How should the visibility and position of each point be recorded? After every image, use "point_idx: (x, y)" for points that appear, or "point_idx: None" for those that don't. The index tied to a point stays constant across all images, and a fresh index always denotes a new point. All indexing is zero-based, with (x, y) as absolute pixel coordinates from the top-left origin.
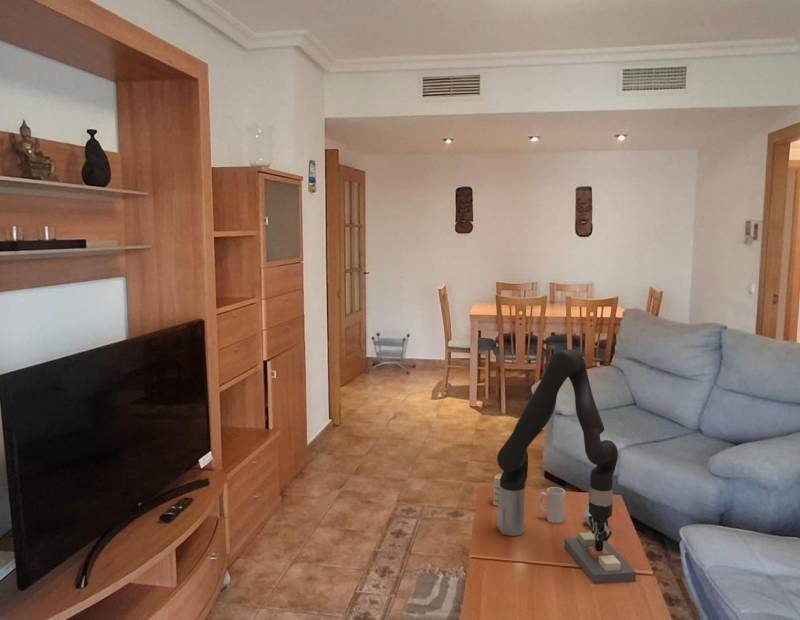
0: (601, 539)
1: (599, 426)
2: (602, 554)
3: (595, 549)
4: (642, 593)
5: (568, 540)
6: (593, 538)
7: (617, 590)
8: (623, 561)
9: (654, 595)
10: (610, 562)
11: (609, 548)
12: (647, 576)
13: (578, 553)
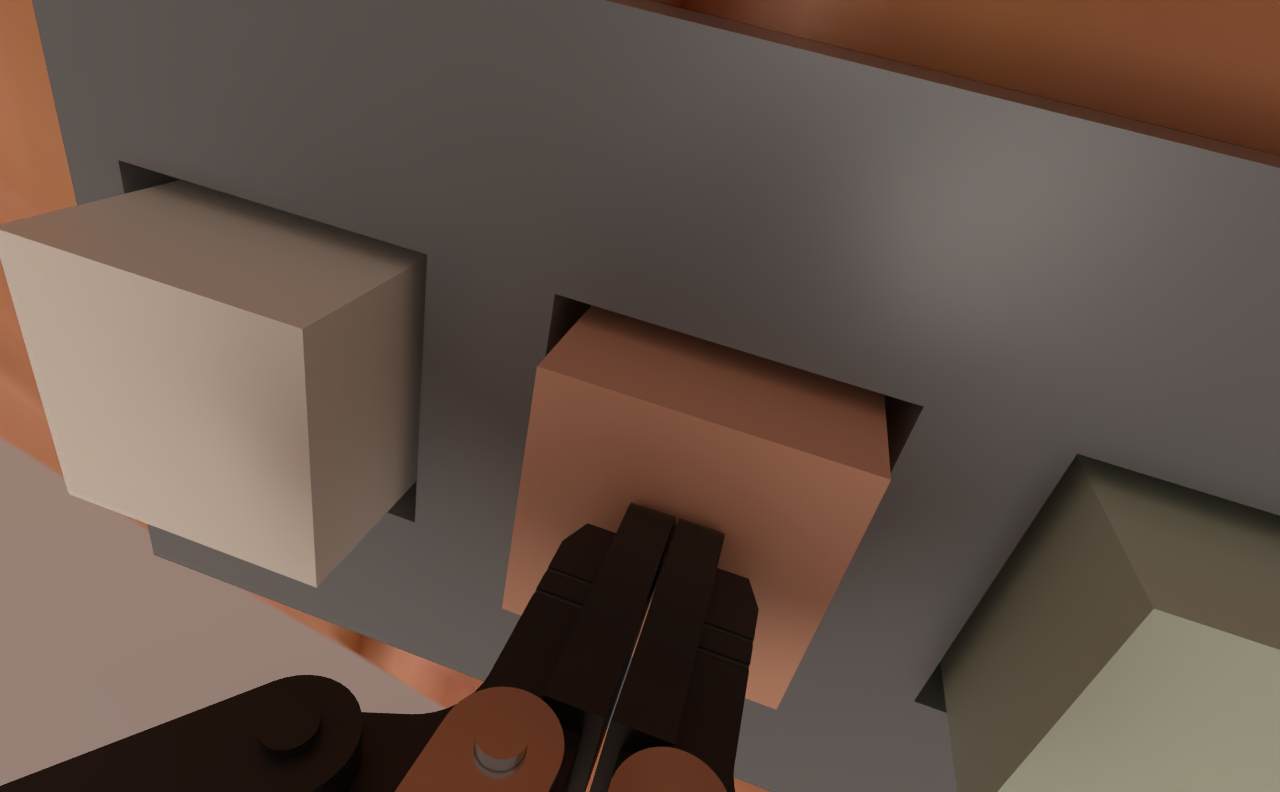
0: (98, 753)
1: None
2: (523, 500)
3: (706, 518)
4: (29, 369)
5: None
6: (1051, 789)
7: (45, 146)
8: (399, 624)
9: (15, 441)
10: (58, 355)
11: (777, 748)
12: (318, 630)
13: (911, 131)
